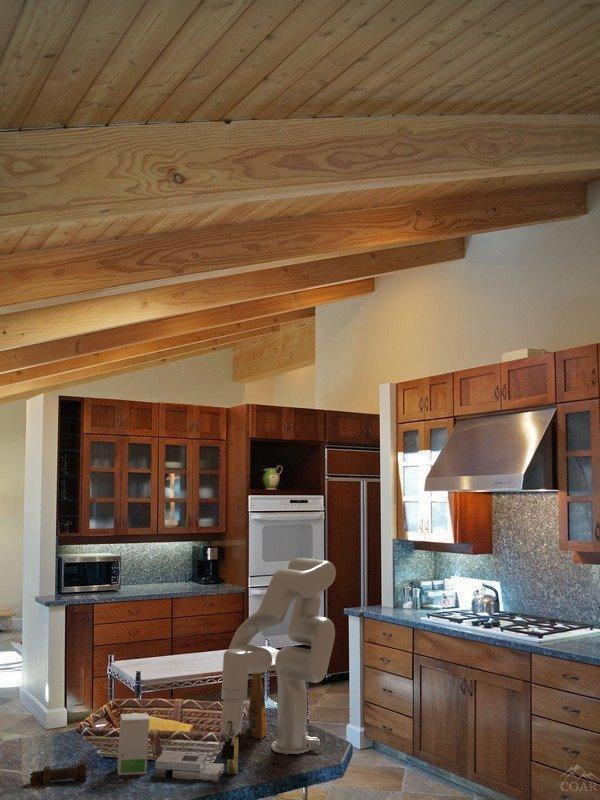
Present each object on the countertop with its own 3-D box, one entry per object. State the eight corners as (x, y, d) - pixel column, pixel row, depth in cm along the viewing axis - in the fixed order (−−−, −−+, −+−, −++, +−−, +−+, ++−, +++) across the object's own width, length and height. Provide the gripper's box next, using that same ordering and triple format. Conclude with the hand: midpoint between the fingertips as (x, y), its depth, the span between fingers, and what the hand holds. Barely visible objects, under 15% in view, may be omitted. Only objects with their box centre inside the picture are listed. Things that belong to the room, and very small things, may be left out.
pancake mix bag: (248, 741, 263) (251, 653, 266) (243, 723, 282) (245, 641, 285) (268, 740, 264) (271, 653, 267) (262, 722, 283) (264, 641, 286)
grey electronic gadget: (223, 771, 237) (224, 755, 237) (217, 781, 229) (218, 765, 230) (163, 766, 239) (163, 751, 240) (154, 776, 232) (155, 761, 232)
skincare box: (118, 776, 231) (120, 720, 233) (116, 767, 238) (119, 713, 239) (147, 774, 233) (149, 718, 235) (145, 765, 240) (147, 711, 241)
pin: (238, 771, 237) (239, 736, 238) (236, 775, 234) (237, 739, 235) (228, 770, 237) (229, 735, 238) (226, 774, 234) (227, 739, 235)
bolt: (29, 790, 224) (85, 783, 229) (29, 787, 220) (86, 780, 225) (30, 768, 227) (85, 762, 232) (30, 764, 223) (86, 758, 228)
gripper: (228, 685, 247) (225, 743, 245) (215, 699, 230) (212, 762, 228) (252, 687, 246) (249, 745, 244) (241, 701, 229) (238, 764, 227)
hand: (231, 753), depth 236 cm, fingers open, 9 cm apart
